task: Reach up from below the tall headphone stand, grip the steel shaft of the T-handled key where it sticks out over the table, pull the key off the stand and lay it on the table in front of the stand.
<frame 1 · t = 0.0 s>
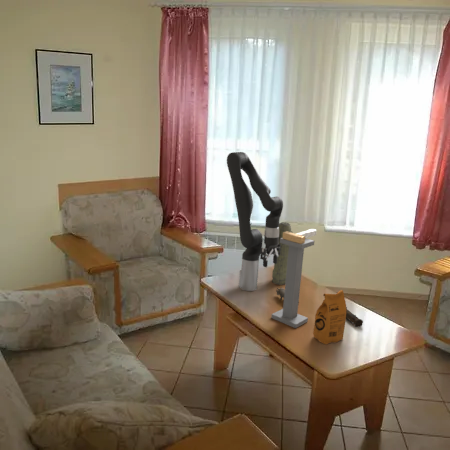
hand: (270, 265, 243), 17 cm above the table, tool pointing down, fingers open, 8 cm apart
headphone stand: (289, 319, 221), on the table
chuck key: (303, 237, 214), point 40 cm above the table, touching headphone stand
coffee package: (327, 338, 205), on the table
rhino figurine: (282, 300, 244), on the table
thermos: (279, 282, 268), on the table
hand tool: (346, 319, 226), on the table
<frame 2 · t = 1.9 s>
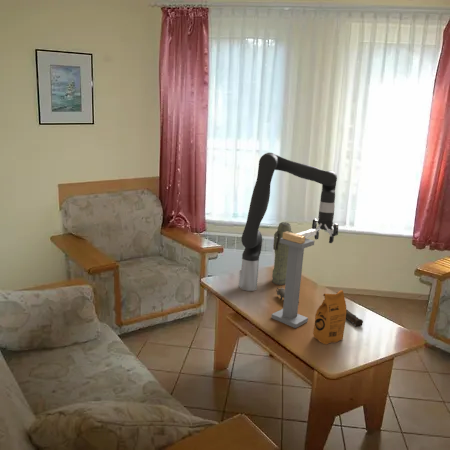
hand: (323, 241, 239), 32 cm above the table, tool pointing down, fingers open, 8 cm apart
nothing on the table moved.
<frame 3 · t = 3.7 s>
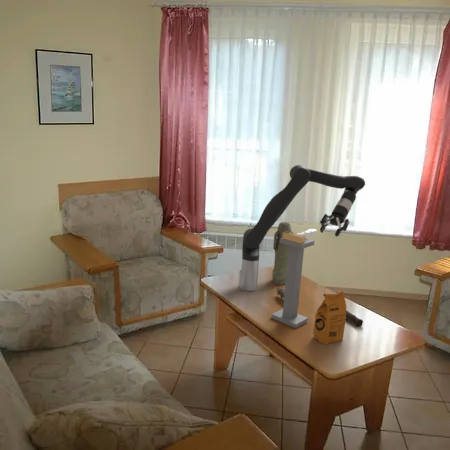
hand: (328, 233, 235), 37 cm above the table, tool tilted 45°, fingers open, 8 cm apart
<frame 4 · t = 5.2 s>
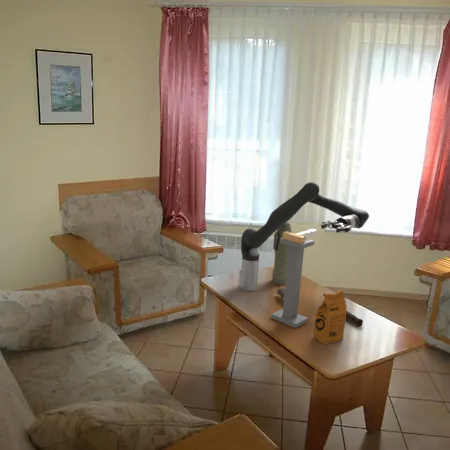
hand: (329, 228, 233), 40 cm above the table, tool horizontal, fingers open, 8 cm apart
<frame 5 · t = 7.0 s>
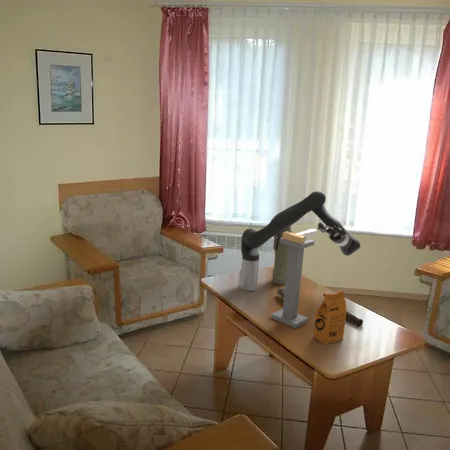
hand: (326, 226, 228), 42 cm above the table, tool pointing upward, fingers open, 8 cm apart
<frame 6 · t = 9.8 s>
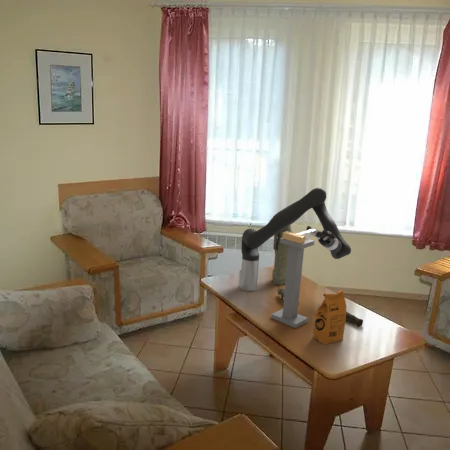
hand: (315, 229, 221), 42 cm above the table, tool pointing upward, fingers open, 8 cm apart
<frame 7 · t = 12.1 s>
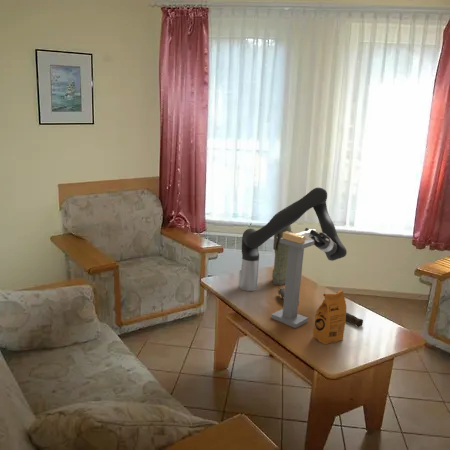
hand: (308, 230, 216), 43 cm above the table, tool pointing upward, fingers closed on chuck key, 2 cm apart
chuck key: (303, 237, 214), point 40 cm above the table, touching gripper, headphone stand
when the fingers open (9 cm above the table, at t = 22.9 s): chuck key drops 5 cm, on the table.
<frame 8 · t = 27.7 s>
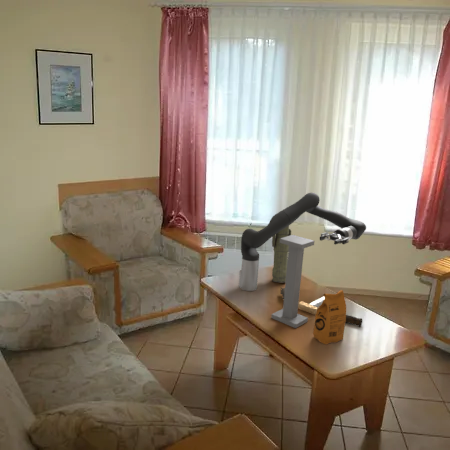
hand: (327, 240, 241), 32 cm above the table, tool horizontal, fingers open, 8 cm apart
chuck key: (315, 306, 238), on the table
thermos: (279, 281, 267), on the table, touching arm
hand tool: (341, 322, 223), on the table
at the end: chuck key inside the target area (1.6 cm from its centre), on the table; the gripper is holding nothing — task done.
